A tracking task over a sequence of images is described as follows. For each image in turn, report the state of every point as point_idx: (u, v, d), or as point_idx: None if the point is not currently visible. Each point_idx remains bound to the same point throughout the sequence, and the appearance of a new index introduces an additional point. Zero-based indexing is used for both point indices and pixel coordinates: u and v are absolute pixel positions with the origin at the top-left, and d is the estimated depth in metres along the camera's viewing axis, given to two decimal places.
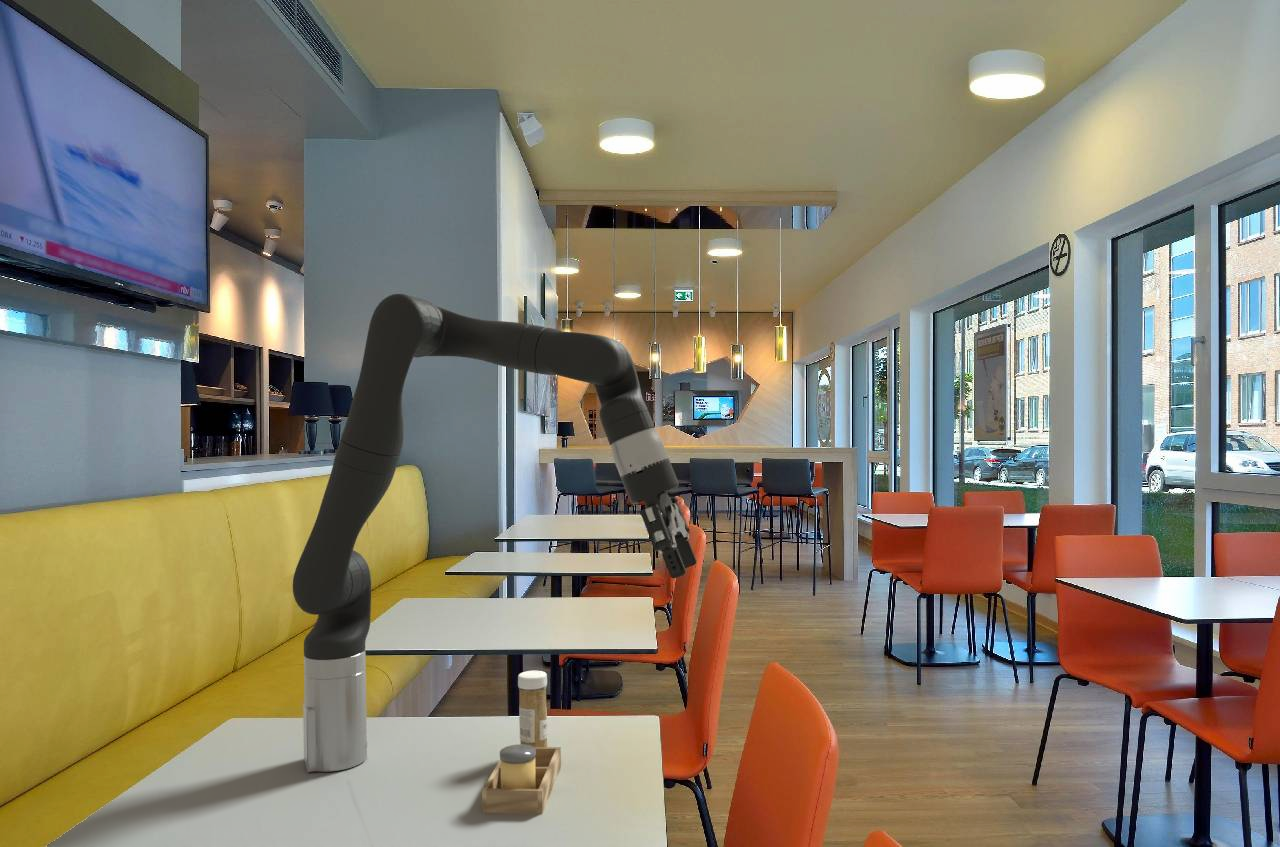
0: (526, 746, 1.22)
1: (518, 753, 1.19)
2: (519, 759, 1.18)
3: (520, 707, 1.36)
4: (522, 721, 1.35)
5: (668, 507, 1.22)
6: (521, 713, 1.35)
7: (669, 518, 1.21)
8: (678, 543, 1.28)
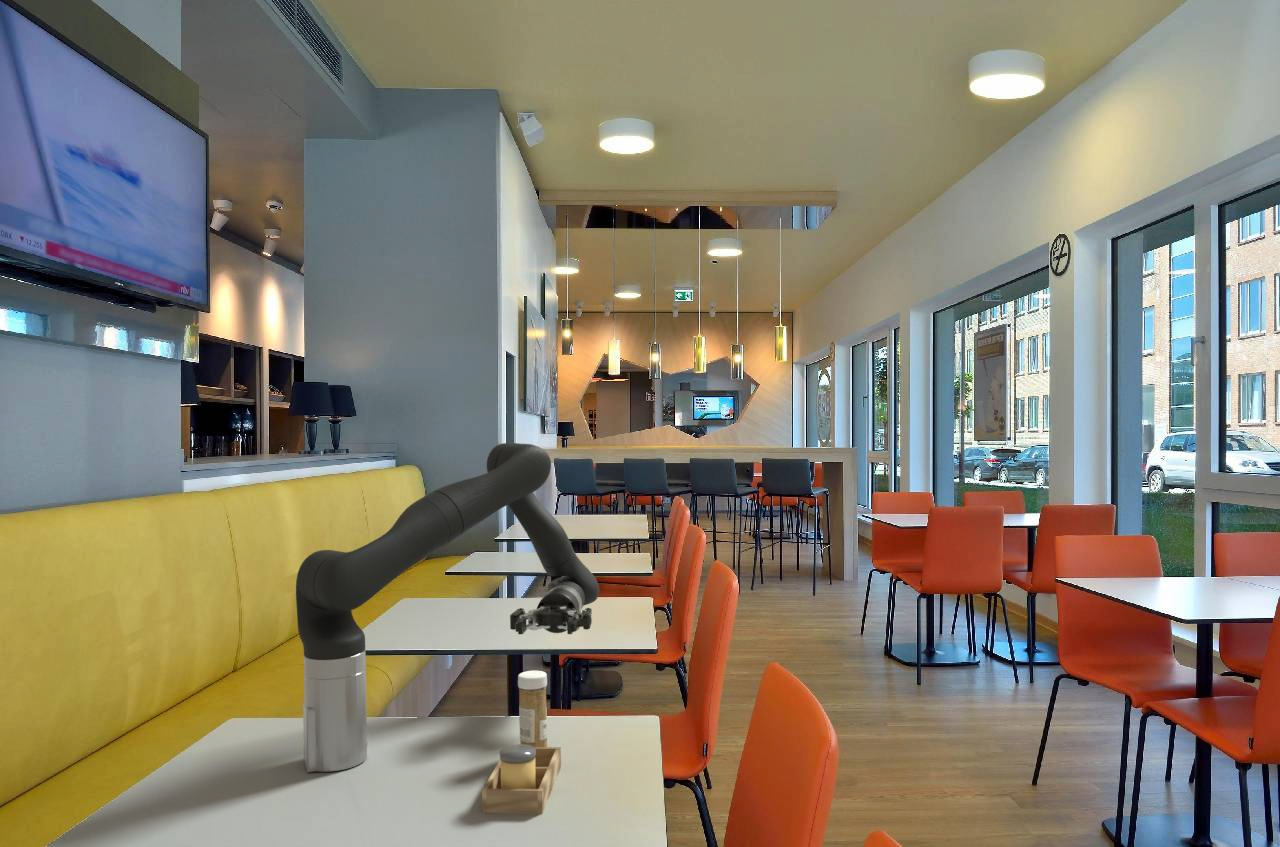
0: (526, 746, 1.22)
1: (518, 753, 1.19)
2: (519, 759, 1.18)
3: (520, 707, 1.36)
4: (522, 721, 1.35)
5: None
6: (521, 713, 1.35)
7: None
8: None
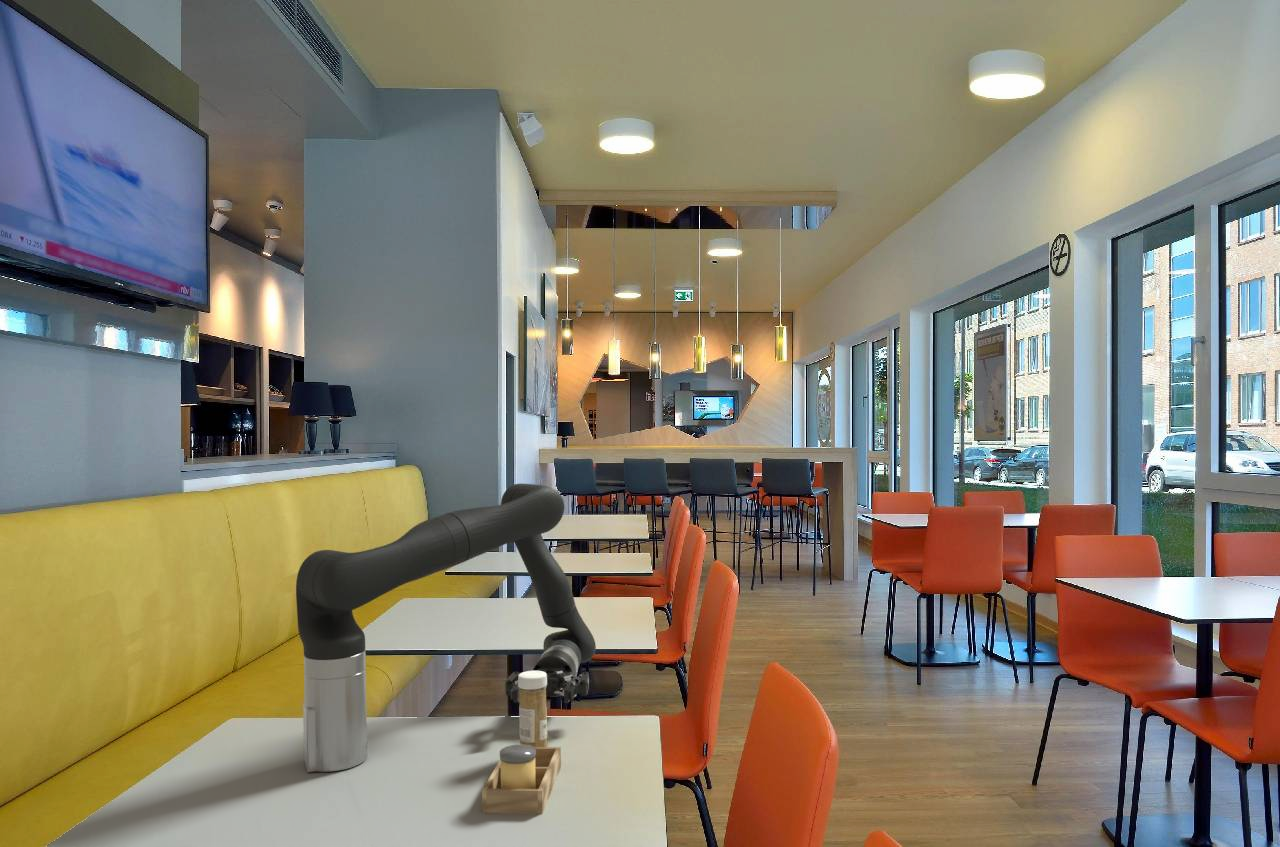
0: (526, 746, 1.22)
1: (518, 753, 1.19)
2: (519, 759, 1.18)
3: (520, 707, 1.36)
4: (522, 721, 1.35)
5: None
6: (521, 713, 1.35)
7: None
8: None
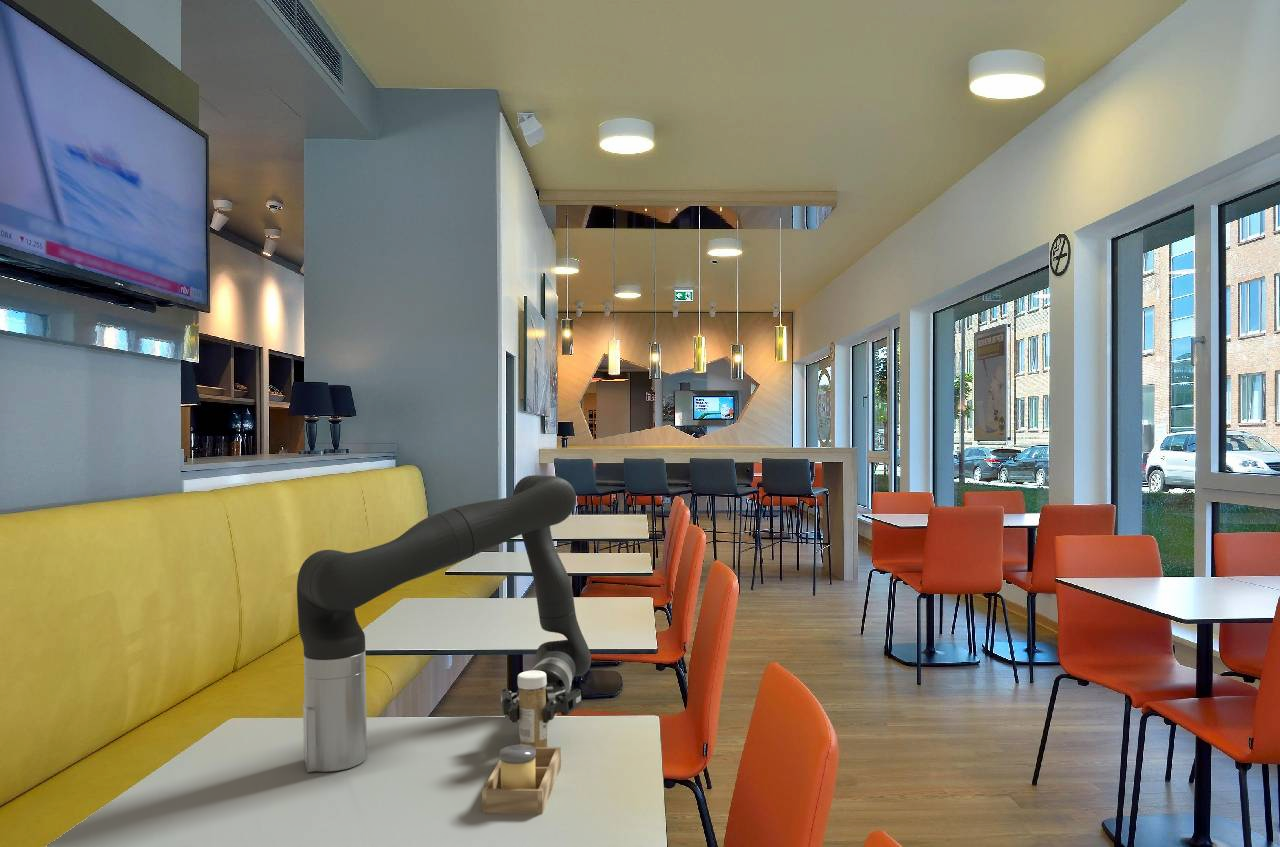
0: (526, 746, 1.22)
1: (518, 753, 1.19)
2: (519, 759, 1.18)
3: (520, 707, 1.36)
4: (522, 721, 1.35)
5: None
6: (521, 713, 1.35)
7: None
8: None
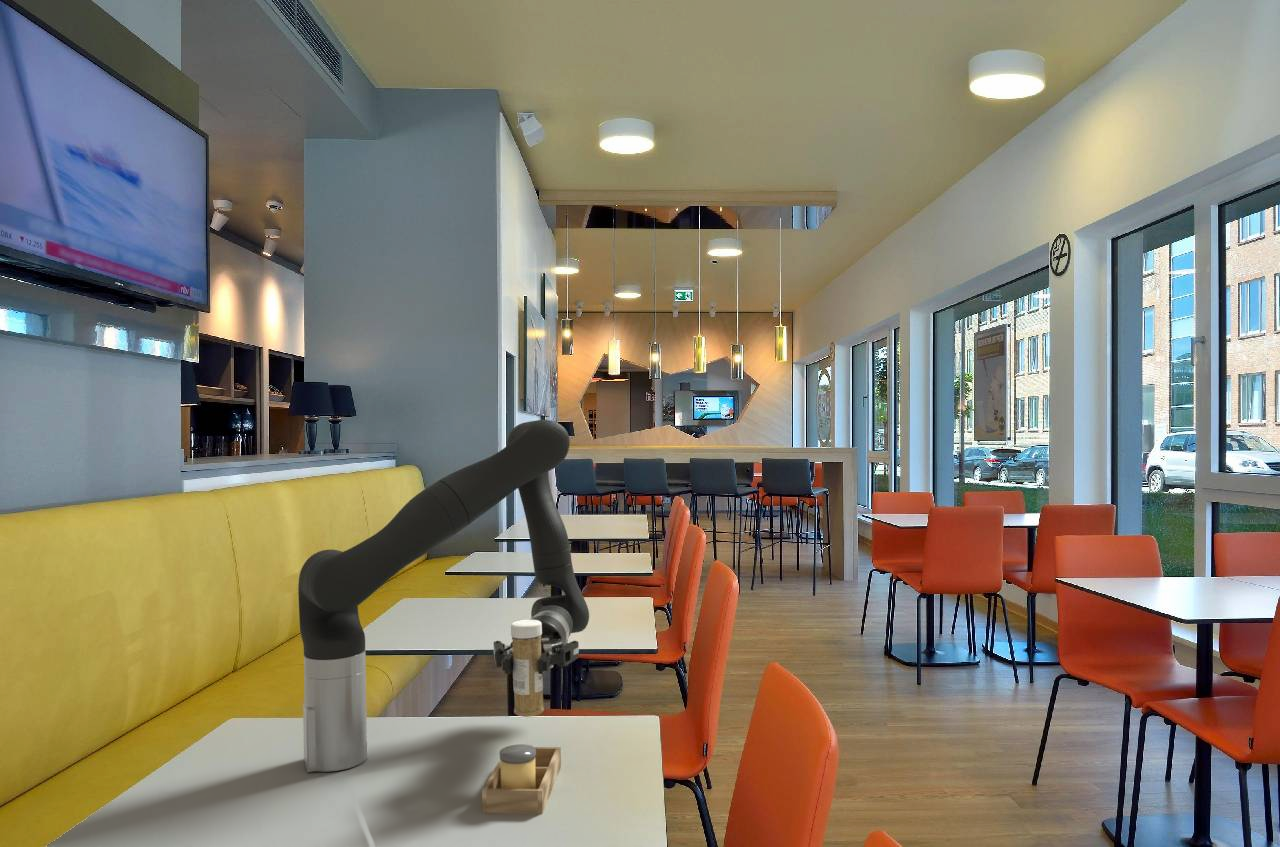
0: (526, 746, 1.22)
1: (518, 753, 1.19)
2: (519, 759, 1.18)
3: (513, 658, 1.27)
4: (516, 672, 1.26)
5: None
6: (515, 664, 1.27)
7: None
8: None
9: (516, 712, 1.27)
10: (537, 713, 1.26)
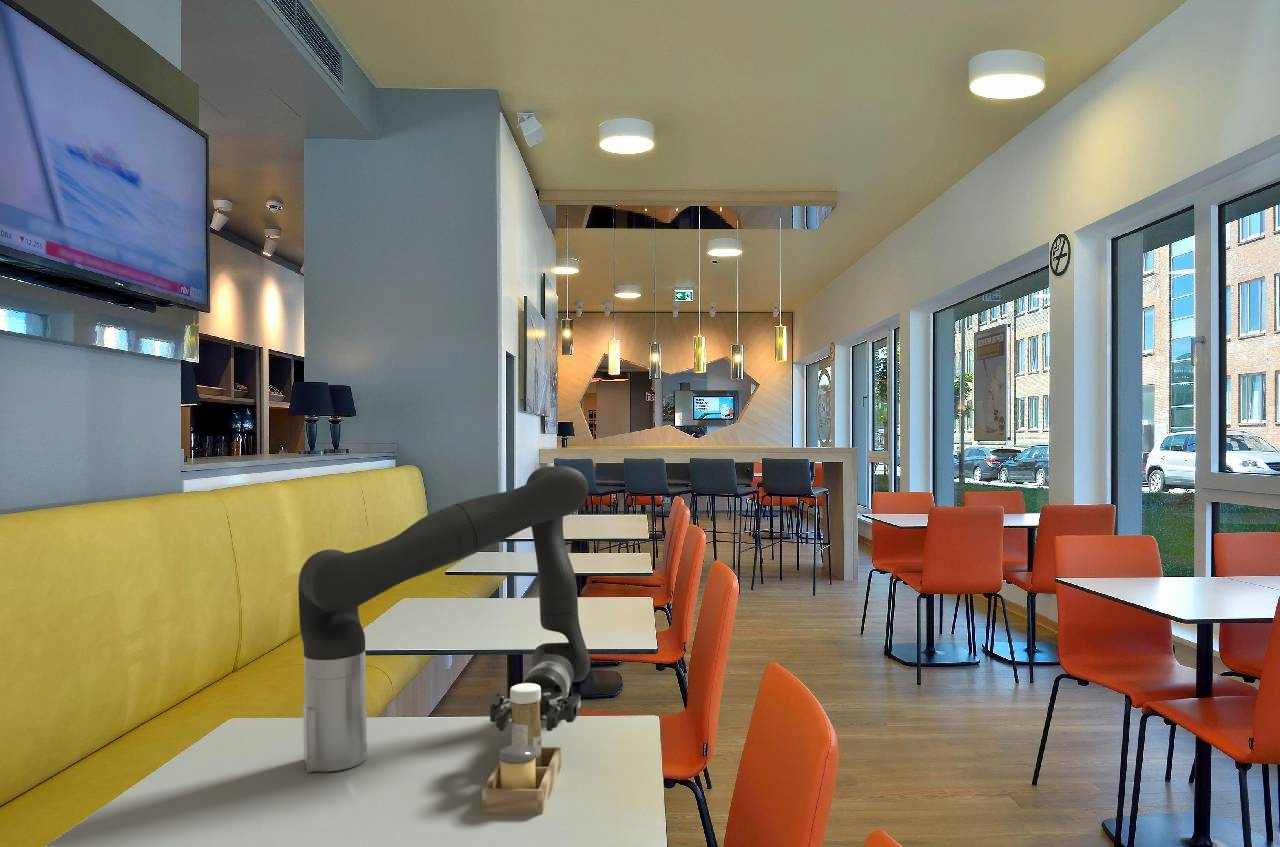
0: (526, 746, 1.22)
1: (518, 753, 1.19)
2: (519, 759, 1.18)
3: (512, 722, 1.27)
4: (515, 737, 1.26)
5: None
6: (513, 729, 1.27)
7: None
8: (507, 712, 1.30)
9: None
10: None
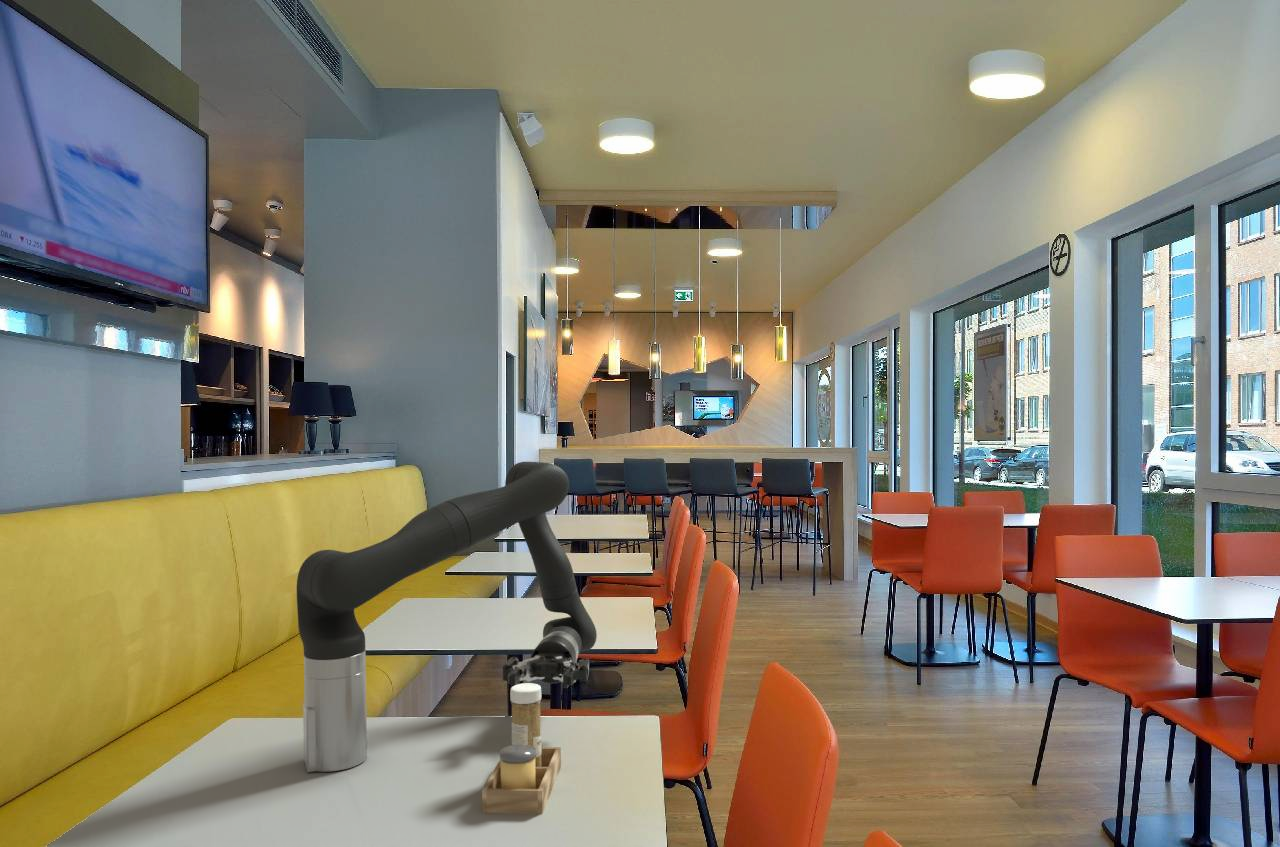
0: (526, 746, 1.22)
1: (518, 753, 1.19)
2: (519, 759, 1.18)
3: (512, 722, 1.27)
4: (515, 737, 1.26)
5: None
6: (513, 729, 1.27)
7: None
8: None
9: None
10: None
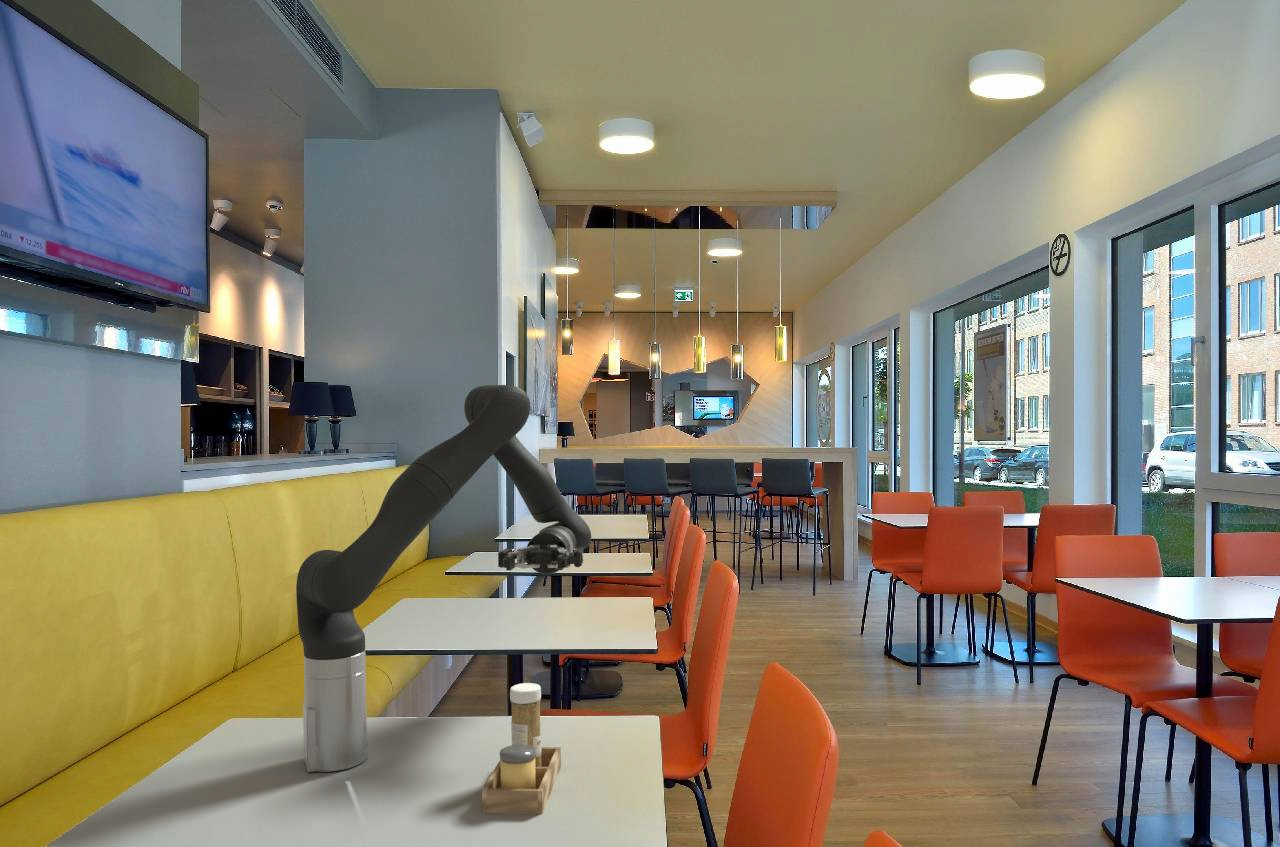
0: (526, 746, 1.22)
1: (518, 753, 1.19)
2: (519, 759, 1.18)
3: (512, 722, 1.27)
4: (515, 737, 1.26)
5: None
6: (513, 729, 1.27)
7: None
8: None
9: None
10: None
